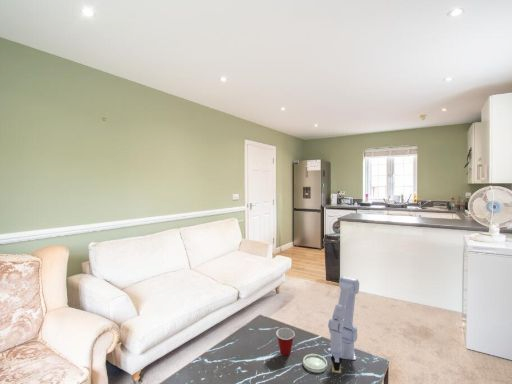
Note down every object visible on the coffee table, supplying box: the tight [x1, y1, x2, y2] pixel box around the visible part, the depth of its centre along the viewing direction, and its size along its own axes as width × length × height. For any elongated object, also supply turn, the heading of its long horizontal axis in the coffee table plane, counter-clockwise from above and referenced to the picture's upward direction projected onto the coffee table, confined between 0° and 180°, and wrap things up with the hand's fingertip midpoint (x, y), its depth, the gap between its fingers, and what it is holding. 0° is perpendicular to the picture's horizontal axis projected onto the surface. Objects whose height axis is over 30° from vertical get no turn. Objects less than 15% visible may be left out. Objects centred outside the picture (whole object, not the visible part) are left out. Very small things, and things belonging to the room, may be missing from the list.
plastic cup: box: [275, 327, 296, 356], centre depth 159 cm, size 11×11×12 cm
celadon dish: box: [302, 353, 328, 374], centre depth 149 cm, size 13×13×2 cm
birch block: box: [331, 361, 342, 374], centre depth 144 cm, size 4×4×4 cm
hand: (336, 367), depth 144 cm, fingers closed on birch block, 4 cm apart
